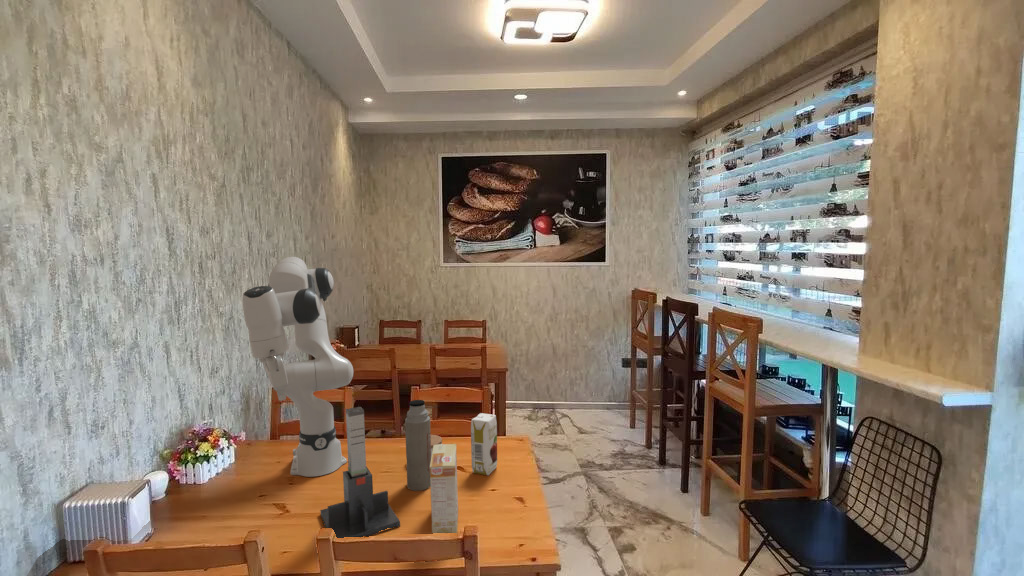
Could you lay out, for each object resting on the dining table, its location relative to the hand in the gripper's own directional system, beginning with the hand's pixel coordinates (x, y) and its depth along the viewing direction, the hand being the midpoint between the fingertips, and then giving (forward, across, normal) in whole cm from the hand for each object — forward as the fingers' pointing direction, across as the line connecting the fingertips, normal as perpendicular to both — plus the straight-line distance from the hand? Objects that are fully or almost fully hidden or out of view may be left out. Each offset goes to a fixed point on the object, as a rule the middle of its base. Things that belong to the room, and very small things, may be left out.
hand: (280, 394), depth 135 cm
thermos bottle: (+43, 0, -34) cm, 55 cm away
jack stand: (+40, -10, -12) cm, 43 cm away
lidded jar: (+45, +16, -44) cm, 65 cm away
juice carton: (+46, -2, -57) cm, 73 cm away
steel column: (+31, -10, -14) cm, 35 cm away
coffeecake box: (+42, -24, -33) cm, 58 cm away
